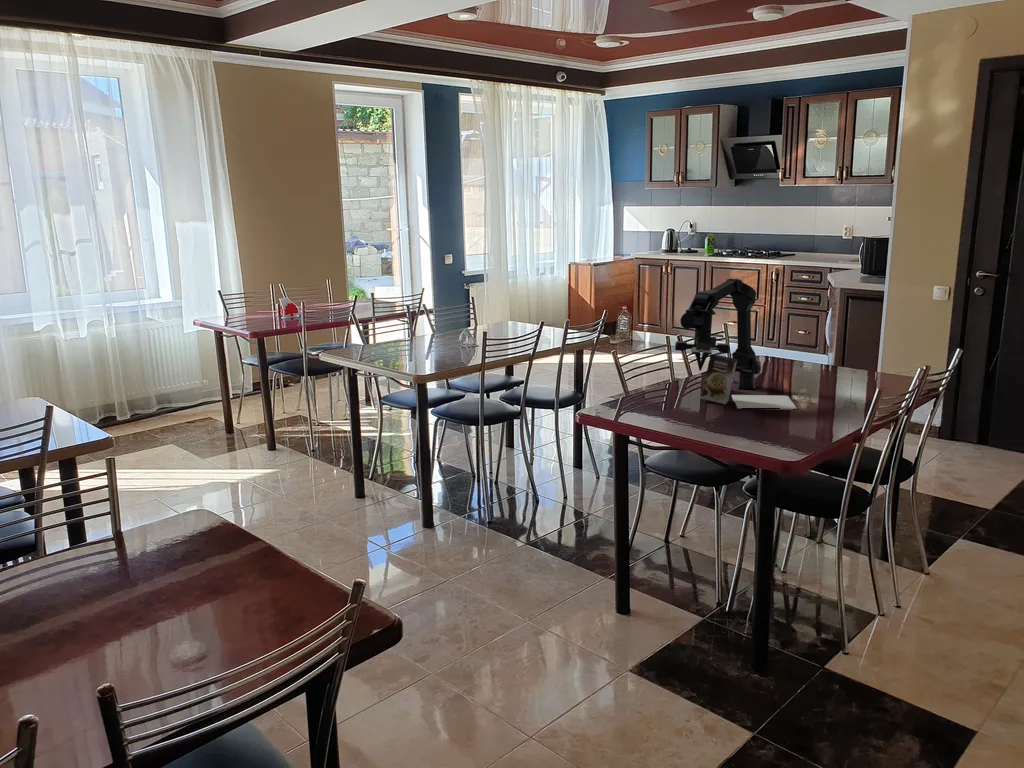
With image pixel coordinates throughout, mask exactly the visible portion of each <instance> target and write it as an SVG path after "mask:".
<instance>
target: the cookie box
mask: <svg viewBox="0 0 1024 768" xmlns="http://www.w3.org/2000/svg"><path fill="white" fill-rule="evenodd" d="M736 363H737V359H734V358H733V357H729V356H728V357H727V356H725V355H721V354H720V355H719V354H715V353H712V354H710V355H709V360H708V365H707V369H706V374H705V378H704V384H703V389H702V392H701V397H700V399H702V400H705V401H710V402H714V403H719V404H723V405H726V404H727V403H728V402H729V398H730V394H731V389H732V384H733V379H734V376H735V368H736Z"/></svg>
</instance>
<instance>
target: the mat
mask: <svg viewBox="0 0 1024 768" xmlns="http://www.w3.org/2000/svg"><path fill="white" fill-rule="evenodd" d="M731 398H732V401H733V402H735V403H734V405H735V404H736V405H735V406H737V407H736V409H742V408H780V409H779V410H793V409H797V406H796V405H795V404H794V402H793V400H791V398H790V397H789V396H788V395H765V394H764V395H763V394H761V395H760V394H731Z"/></svg>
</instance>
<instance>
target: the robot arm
mask: <svg viewBox="0 0 1024 768" xmlns="http://www.w3.org/2000/svg"><path fill="white" fill-rule="evenodd" d="M727 296H730V297H731V299H732V302H731V303H732V305H733V306H734V308H735V309H736V322H737V324H736V327H737V331H736V332H737V348H736V349H735V351H733V352H732V354H731V358H734V359H737V363H736V368H735V372H737V373H738V384H736V387H737V388H738V389H739V390H756V386H755V375H758V374H760V372H761V366H760V364H759V363H758V360H757V359H756V358H757V356H756V352H755V350H754V349H753V348H752V330H751V329H752V328H751V327H752V326H751V325H752V324H751V323H752V322H751V321H752V319H751V318H752V315H751V310H752V308H753V307H754V305H755V303H756V298H757V292H756V289H754V287H752V286H751V285H748V284H747V283H745V282H743V281H742V280H741V279H739V278H728V279H726V281H724V282H722V283H720V284H719V285H716V286H715V287H712V289H708V290H701V291H698V292H696V293H695V295H694V297H693V299H692V301H691V302H690V305H689V307H688V308H687V309H686V310H685V312H684V313H683V314H682V316H681V317H680V321H679V322H680V325H681V327H682V329H683V328H684V329H685V330H693V329H694V339H693V343H687V341H686V340H685V341H683V340H678V341H677V340H676V341H675V344H674V345H675V347H674V349H675V351H681V352H682V351H683V352H685V351H686V350H691V351H690V352H691V354H693V355H694V357H695V358H696V361H697V365H698V371H699V372H701V371H702V369H703V367H704V365H705V362H706V360H707V358H708V357H709V356H710V355H713V353H712V352H713V351H718V352H719V353H720V354H721V353H722V354H723V353H724V354H730V346H729V344H728V343H722V342H721V343H720V342H717V337H716V336H712V327H713V326H712V324H713V316H715V315H716V311H715V310H713V309H714V308H716V307H717V306H718V305H719V301H720V300H722V299H724V298H726V297H727ZM700 351H702V353H701V352H700ZM735 372H734V373H735Z"/></svg>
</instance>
